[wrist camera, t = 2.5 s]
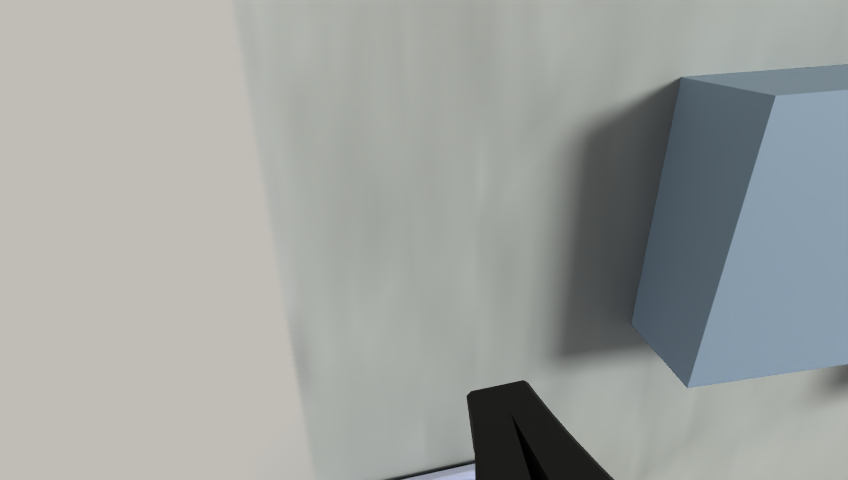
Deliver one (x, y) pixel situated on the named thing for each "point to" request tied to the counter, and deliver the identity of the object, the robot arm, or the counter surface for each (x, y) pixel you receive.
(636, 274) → the counter surface
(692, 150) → the block
